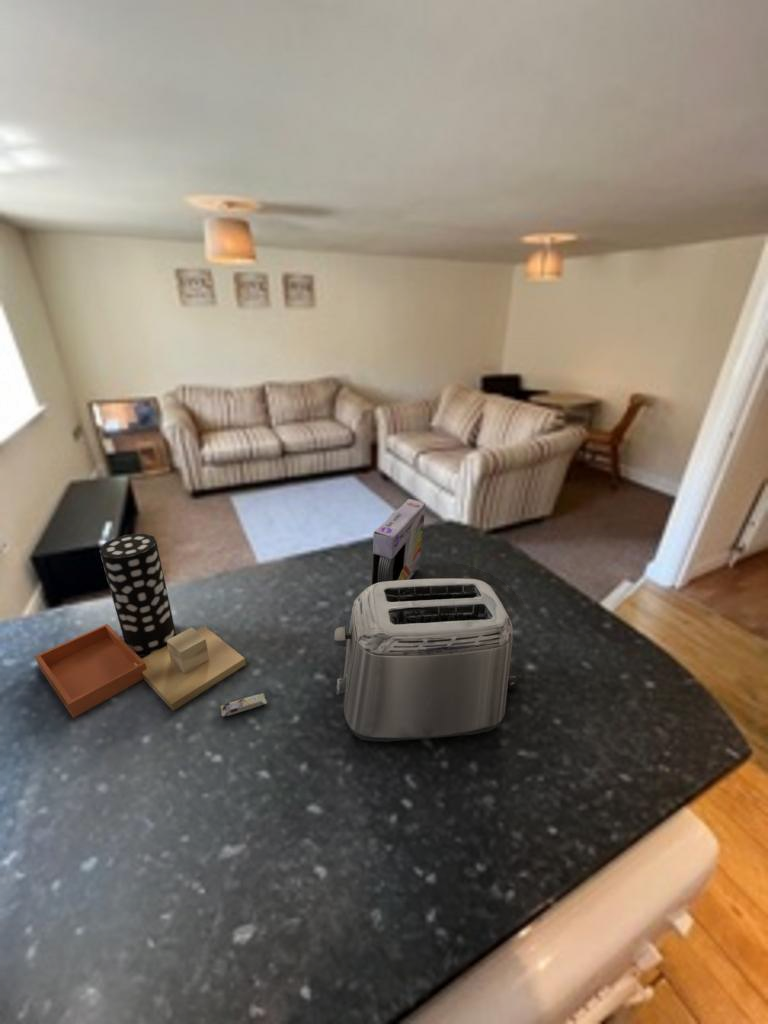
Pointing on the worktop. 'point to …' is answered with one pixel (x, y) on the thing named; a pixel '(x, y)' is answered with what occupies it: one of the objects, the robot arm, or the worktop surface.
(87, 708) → the orange-brown tray
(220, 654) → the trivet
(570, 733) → the worktop surface
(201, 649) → the block
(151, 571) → the white-spotted black cylinder
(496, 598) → the toaster
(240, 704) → the granola bar
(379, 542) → the cake pan box
